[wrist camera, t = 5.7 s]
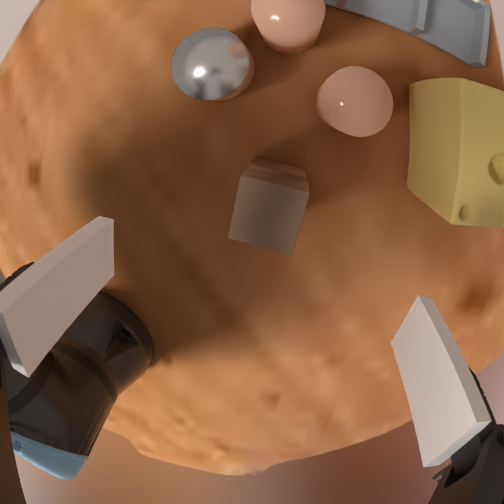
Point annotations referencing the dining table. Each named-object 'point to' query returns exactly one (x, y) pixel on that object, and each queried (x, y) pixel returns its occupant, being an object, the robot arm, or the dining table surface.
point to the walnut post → (270, 205)
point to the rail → (433, 23)
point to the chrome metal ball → (212, 65)
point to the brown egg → (355, 101)
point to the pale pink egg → (289, 23)
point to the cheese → (458, 150)
